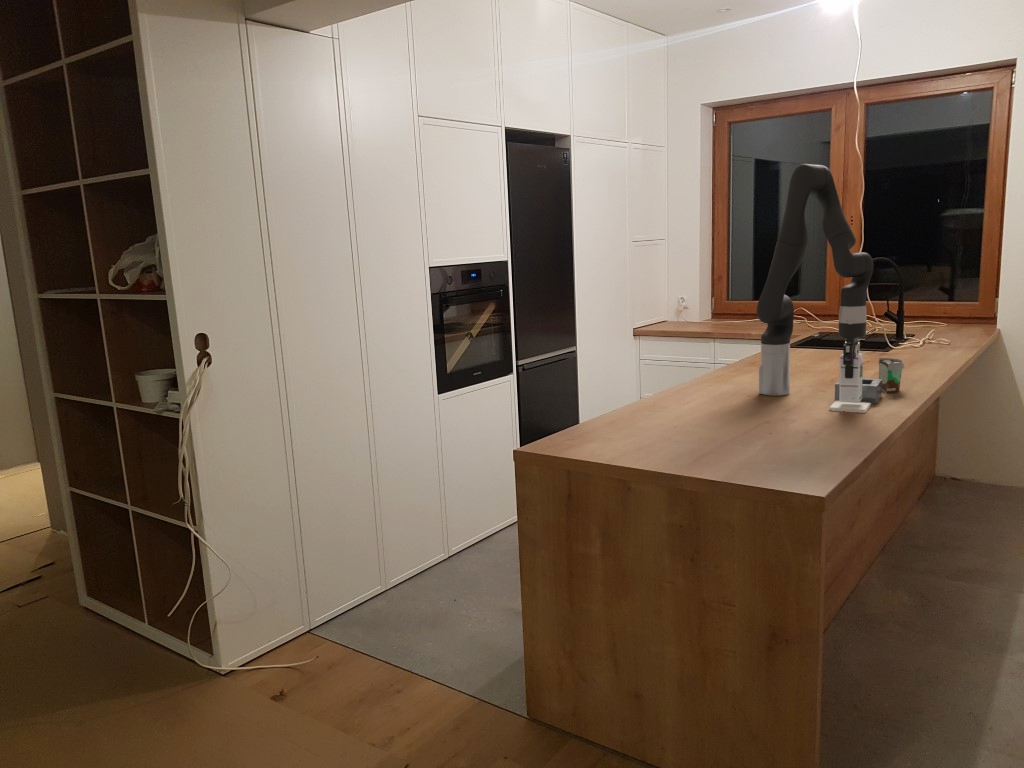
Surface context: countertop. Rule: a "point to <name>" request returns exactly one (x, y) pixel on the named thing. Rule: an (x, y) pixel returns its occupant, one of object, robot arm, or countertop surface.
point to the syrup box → (851, 381)
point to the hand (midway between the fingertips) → (850, 376)
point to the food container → (890, 374)
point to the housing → (866, 390)
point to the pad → (850, 406)
